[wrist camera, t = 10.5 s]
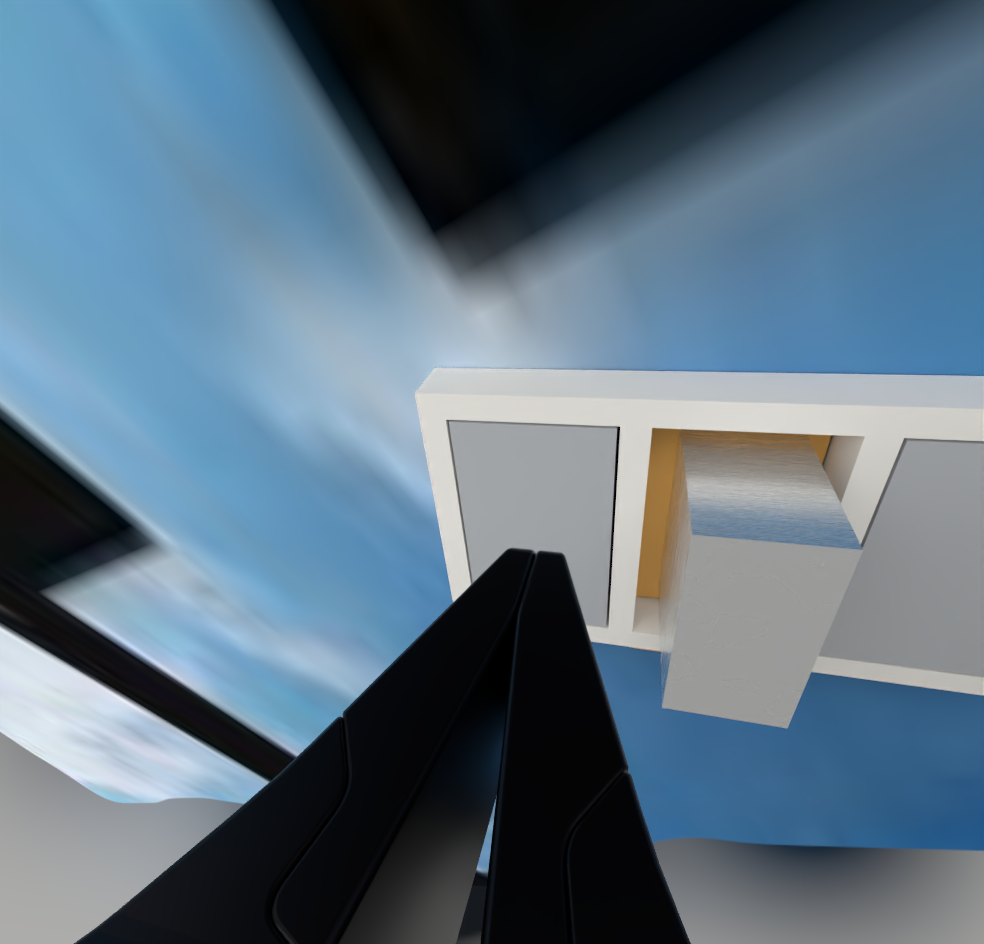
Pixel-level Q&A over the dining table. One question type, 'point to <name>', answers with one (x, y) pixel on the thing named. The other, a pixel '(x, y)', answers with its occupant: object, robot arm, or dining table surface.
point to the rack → (648, 482)
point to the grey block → (749, 573)
